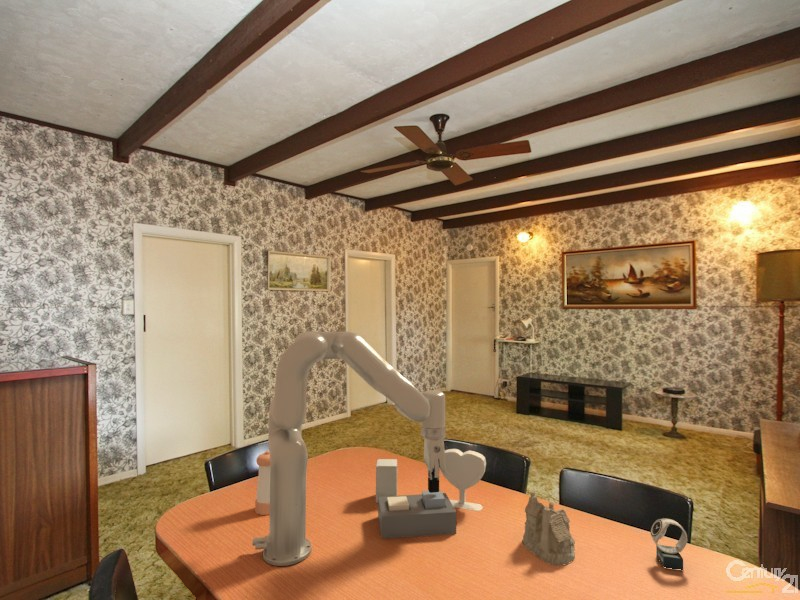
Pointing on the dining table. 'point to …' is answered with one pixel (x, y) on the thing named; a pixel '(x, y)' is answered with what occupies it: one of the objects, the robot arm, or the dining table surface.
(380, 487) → the supplement box
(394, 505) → the cream key
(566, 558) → the ceramic cottage
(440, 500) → the slate blue key
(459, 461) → the heart sculpture
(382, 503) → the control pad
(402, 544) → the dining table surface
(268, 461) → the pepper shaker
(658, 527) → the watch
